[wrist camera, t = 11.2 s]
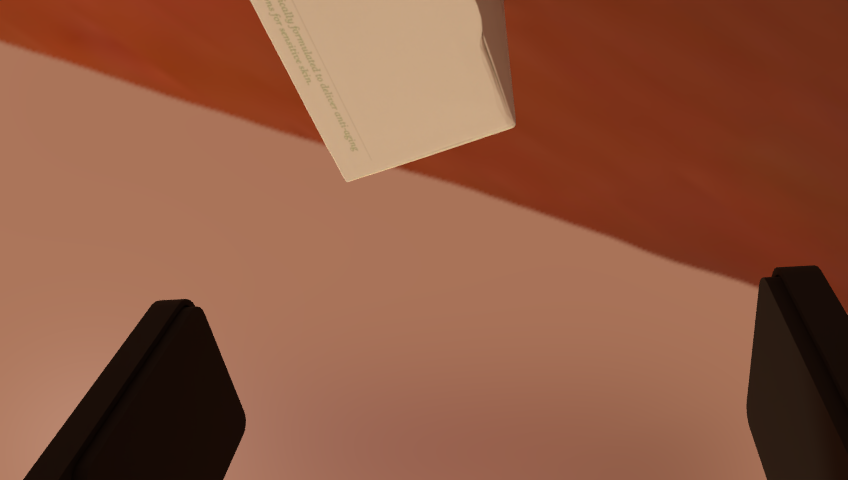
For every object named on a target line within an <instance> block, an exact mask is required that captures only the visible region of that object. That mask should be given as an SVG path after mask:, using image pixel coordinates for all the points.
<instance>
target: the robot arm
mask: <svg viewBox="0 0 848 480" xmlns="http://www.w3.org/2000/svg"><path fill="white" fill-rule="evenodd" d="M747 418H748V423H749V427H750V430H751V433H752V436H753V439H754V442H755V444H756V447H757V450H758V454H759V457H760V459H761V462H762V465H763V469H764V471H765V474H766V477H767V480H848V315H847V314H846V312H845V310H844V309H843V307H842V305H841V303H840V302H839V300H838V298H837V297H836V295H835V293H834V292H833V290H832V288H831V287H830V285H829V283H828V282H827V280H826V278H825V276H824V275H823V273H822V271H821V270H820V269H819V267H818V266H815V265H814V266H795V267H777V268H775V269H774V271H773V274H772V277H765V278H762V279H761V280H760V284H759V292H758V301H757V311H756V320H755V330H754V339H753V349H752V358H751V367H750V376H749V387H748V396H747ZM245 425H246V418H245V413H244V410H243V408H242V405H241V403H240V400H239V398H238V395H237V393H236V390H235V388H234V385H233V383H232V380H231V378H230V376H229V373H228V371H227V368H226V366H225V363H224V361H223V358H222V356H221V353H220V351H219V348H218V346H217V343H216V341H215V338H214V336H213V333H212V331H211V328H210V326H209V324H208V321H207V319H206V316H205V314H204V312H203V310H202V309H201V308H200V307H195V305H194V304H193V302H191V301H190V300H188V299H180V300H162V301H156V302H155V303H154V304H152V305H151V307H150V308H149V309H148V311H147V312H146V313H145V315H144V316H143V318H142V319H141V320H140V322H139V323H138V324H137V326H136V327H135V329H134V330H133V331H132V332H131V334H130V335H129V337H128V338H127V339H126V341H125V342H124V343H123V345H122V346H121V347H120V349H119V350H118V352H117V353H116V354H115V356H114V357H113V358H112V360H111V361H110V362H109V364H108V365H107V367H106V368H105V369H104V371H103V372H102V373H101V375H100V376H99V377H98V379H97V380H96V381H95V383H94V384H93V386H92V387H91V388H90V390H89V391H88V392H87V394H86V395H85V396H84V398H83V399H82V401H81V402H80V403H79V404H78V406H77V407H76V409H75V410H74V411H73V413H72V414H71V415H70V417H69V418H68V419H67V421H66V422H65V423H64V425H63V426H62V428H61V429H60V430H59V432H58V433H57V434H56V436H55V437H54V439H53V440H52V441H51V442H50V444H49V445H48V447H47V448H46V449H45V451H44V452H43V453H42V455H41V456H40V458H39V459H38V460H37V462H36V463H35V464H34V466H33V467H32V468H31V470H30V471H29V472H28V474H27V475H26V476H25V478H24V479H23V480H223V479H224V476H225V474H226V472H227V470H228V467H229V465H230V463H231V460H232V459H233V456H234V454H235V452H236V450H237V447H238V445H239V443H240V441H241V438H242V436H243V434H244V431H245Z"/></svg>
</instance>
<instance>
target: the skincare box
mask: <svg viewBox="0 0 848 480" xmlns="http://www.w3.org/2000/svg"><path fill="white" fill-rule="evenodd" d="M250 1H251V3H252V5H253V7H254V8H255V10H256V12H257V14H258V16H259V18H260V20H261V22H262V24H263V26H264V28H265V30H266V32H267V34H268V35H269V37H270V39H271V41H272V43H273V45H274V47H275V49H276V51H277V53H278V55H279V57H280V59H281V60H282V62H283V64H284V66H285V68H286V70H287V72H288V74H289V76H290V78H291V80H292V82H293V83H294V85H295V87H296V89H297V91H298V93H299V95H300V97H301V99H302V101H303V103H304V105H305V107H306V109H307V110H308V112H309V114H310V116H311V118H312V120H313V122H314V124H315V126H316V127H317V129H318V131H319V133H320V135H321V137H322V139H323V141H324V142H325V144H326V146H327V148H328V150H329V152H330V154H331V155H332V157H333V159H334V161H335V163H336V165H337V166H338V168H339V170H340V172H341V174H342V176H343V177H344V179H345V180H346V182H350V181H352V180H355V179H358V178H362V177H365V176H368V175H371V174H375V173H378V172H381V171H384V170H387V169H390V168H393V167H396V166H399V165H403V164H406V163H409V162H412V161H415V160H418V159H421V158H424V157H427V156H430V155H433V154H436V153H439V152H442V151H445V150H448V149H451V148H454V147H457V146H460V145H463V144H466V143H469V142H472V141H475V140H478V139H481V138H484V137H487V136H490V135H493V134H496V133H499V132H502V131H505V130H508V129H511V128H513V127H514V126H515V125H516V119H515V109H514V99H513V91H512V80H511V71H510V62H509V52H508V42H507V33H506V24H505V13H504V0H250Z"/></svg>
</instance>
